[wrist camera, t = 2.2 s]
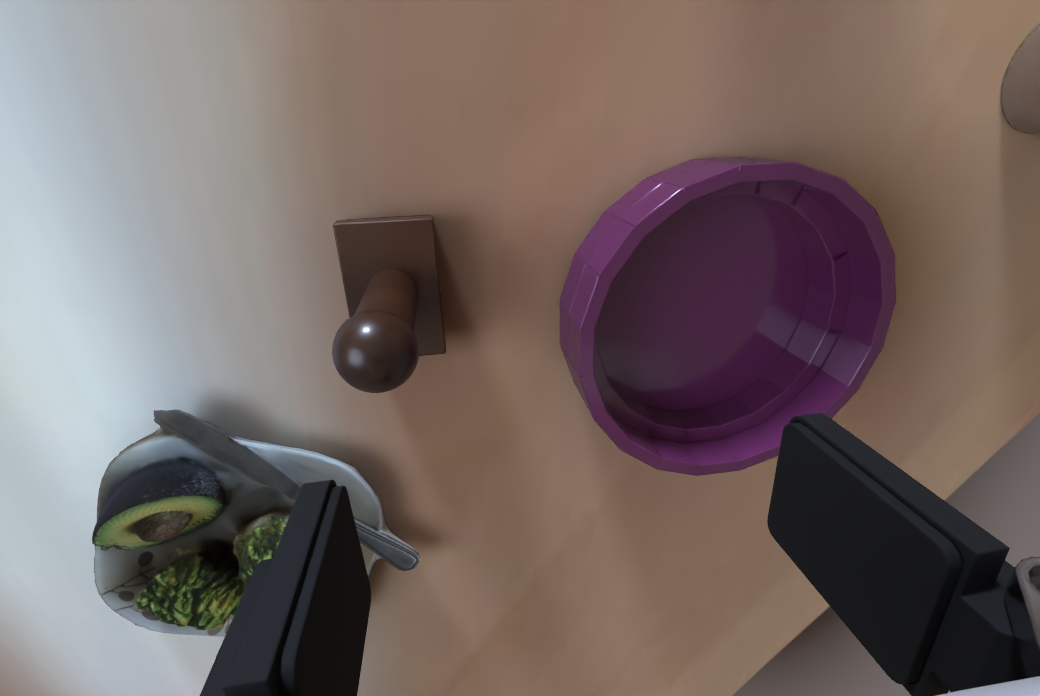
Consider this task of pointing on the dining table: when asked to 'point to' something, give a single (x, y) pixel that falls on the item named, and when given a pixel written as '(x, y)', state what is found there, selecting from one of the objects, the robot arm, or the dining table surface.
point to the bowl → (725, 309)
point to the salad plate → (210, 522)
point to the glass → (1024, 86)
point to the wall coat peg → (387, 300)
